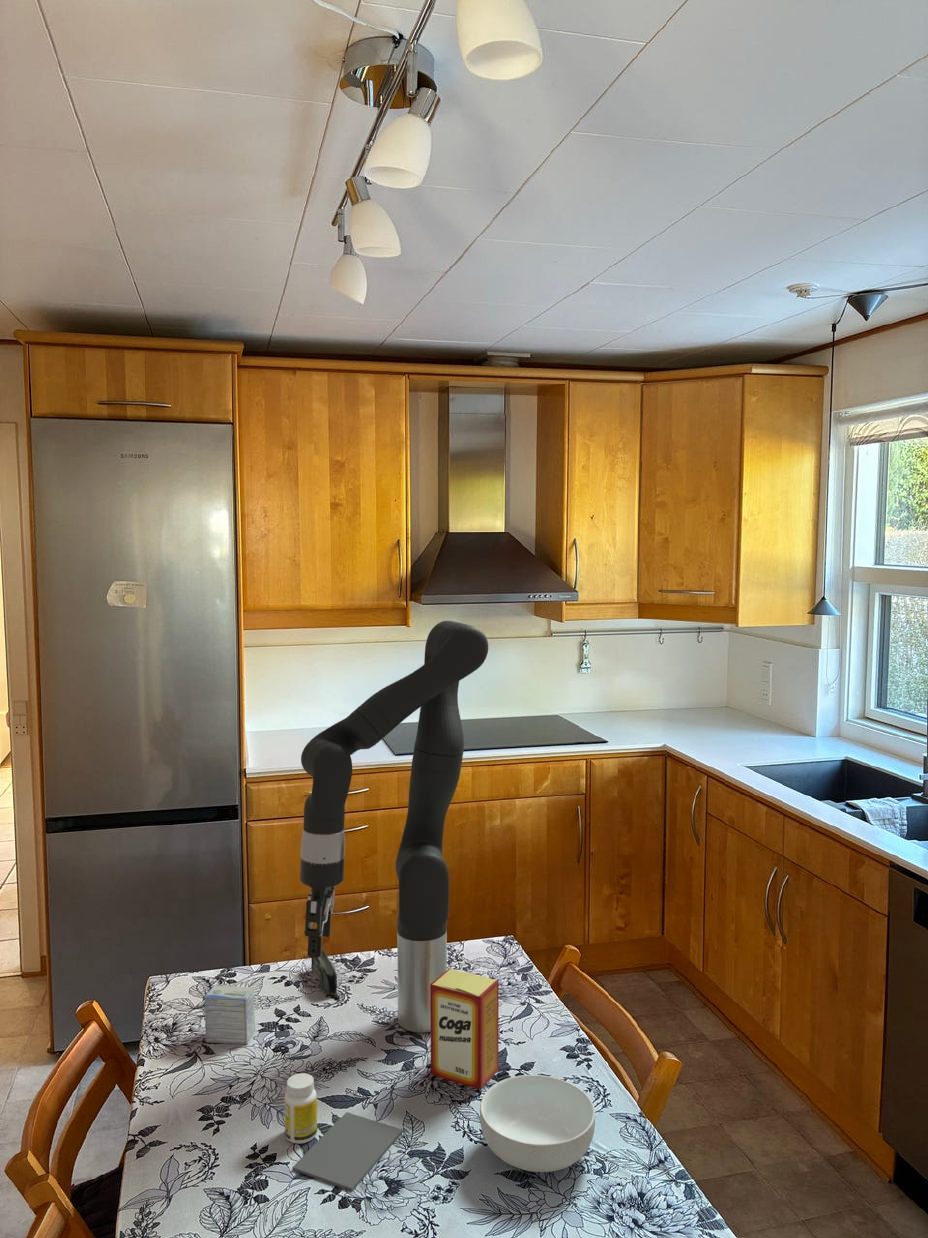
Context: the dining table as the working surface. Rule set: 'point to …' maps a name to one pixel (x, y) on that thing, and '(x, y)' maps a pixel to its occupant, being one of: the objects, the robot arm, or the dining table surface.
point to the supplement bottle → (300, 1109)
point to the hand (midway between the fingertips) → (319, 945)
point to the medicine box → (229, 1014)
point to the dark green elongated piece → (325, 974)
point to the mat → (348, 1151)
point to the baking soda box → (464, 1028)
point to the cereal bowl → (537, 1122)
